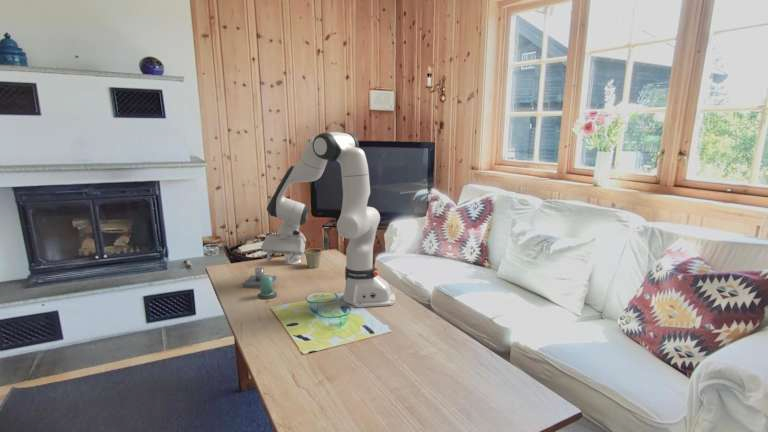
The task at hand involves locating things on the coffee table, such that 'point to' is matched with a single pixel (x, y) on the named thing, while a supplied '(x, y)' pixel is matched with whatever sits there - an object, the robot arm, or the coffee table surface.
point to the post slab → (254, 282)
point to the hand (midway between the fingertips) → (277, 261)
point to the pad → (267, 297)
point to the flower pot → (313, 257)
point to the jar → (293, 261)
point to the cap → (266, 286)
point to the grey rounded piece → (258, 273)
